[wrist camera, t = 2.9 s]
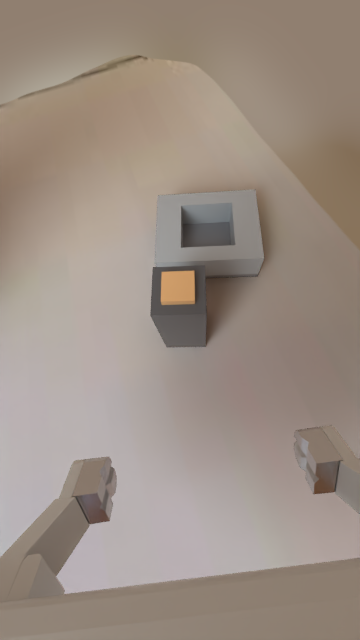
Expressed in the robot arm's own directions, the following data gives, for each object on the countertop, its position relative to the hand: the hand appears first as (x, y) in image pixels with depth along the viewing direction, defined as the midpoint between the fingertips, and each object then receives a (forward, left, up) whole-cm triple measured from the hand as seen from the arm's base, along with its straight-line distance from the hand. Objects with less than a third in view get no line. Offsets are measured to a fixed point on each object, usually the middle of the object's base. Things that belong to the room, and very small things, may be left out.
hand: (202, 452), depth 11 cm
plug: (-2, +10, -13) cm, 17 cm away
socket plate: (+1, +21, -13) cm, 25 cm away
